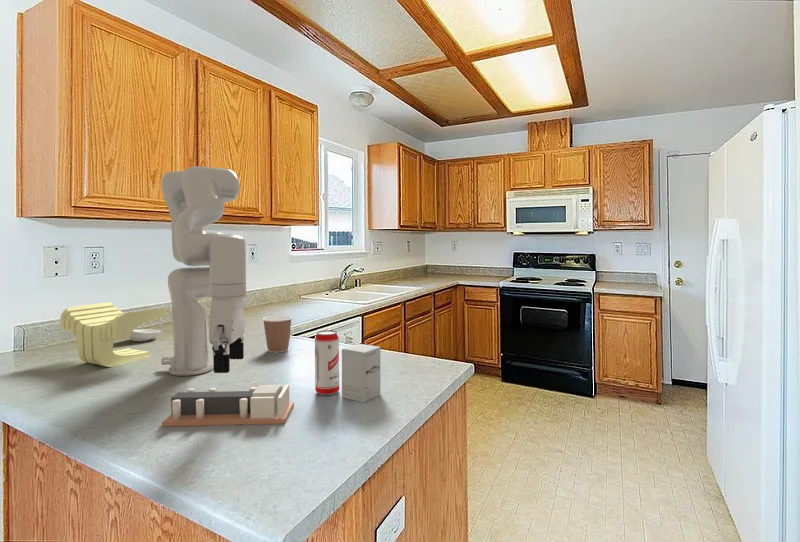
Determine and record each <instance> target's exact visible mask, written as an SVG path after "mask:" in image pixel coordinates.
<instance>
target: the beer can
mask: <svg viewBox="0 0 800 542" xmlns="http://www.w3.org/2000/svg"><path fill="white" fill-rule="evenodd" d="M339 339H340V338H339V336H338V333H337V330H330V329H329V330H328V329H327V330H320V331H317V332H316V336H315V338H314V378H315V380H314V381H315V383H314V385H315V392H316V393H317V394H318V395H319V394H320V395H319V396H322V395H330V396H333V394H334V395H336V394H337V393H338V392H339V390H340V340H339ZM335 393H336V394H335Z"/></svg>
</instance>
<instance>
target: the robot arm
mask: <svg viewBox="0 0 800 542" xmlns="http://www.w3.org/2000/svg"><path fill="white" fill-rule="evenodd" d="M161 192H162V197H163V199H164V203H165V204H166V206H167V209H168V212H169V215H170V221H171V222H170V223H171V225H170V227H171V228H170V229H171V247H172V249H171V250H172V256H173V258H174V260H175V261H176V262H179V263H182V264H184V265H185V266H188V267H180V268H176V269H174V270H172V271H171V272H169V275H168V276H167V286H168V291H169V296H170V301H171V310H172V314H171V315H172V339H173V341H172V342H173V344H172V345H173V356H171V357H169V356H162V357H161V361H160V363H161V365H162V366H163V365H164V366H165V365H169V366H170V367H169V368H168V374H169V375H172V376H178V377H179V376H180V377H186V376H194V375H195V376H196V375H200V374H204V373H208V372H210V371H212V370H213V373H215V374H229V372H230V371H231V370H230V369H231V368H230V360H243V359H244V354H245V352H244V351H245V350H244V333H245V306H244V304H245V303H244V299H245V298H246V297H247V272H246V271H247V265H246V264H247V260H246V257H247V254H246V252H247V251H246V249H247V248H246V247H247V246H246V245H247V244H246V239H245V238H244V237H243V236H240V235H237V234H235V233H234V234H233V233H223V232H218V231H204V228H203V227H205V226H209V225H212V224H214V223H216V222H217V221H219V220H220V219H221V218H222V217H223V215H224V213H225V203H228V202H233V201H234V200H236V199H237V198H238V196H239V194H240V181H239V178H238V176H237V174H236V173H235V172H234V171H233V170H231V169H227V168H222V167H221V168H220V167H219V168H218V167H209V166H202V165H201V166H199V165H196V166H190V167H188V168H185V169H184V170H183V171H182V170H180V171H179V170H174V171H169V172H166V173H164V174H163V175H162V178H161ZM207 298H210V299H211V302H210V307H209V322H208V313H207V309H206V308H205V307H204V306H203V305H202V304H201V303H200V302H199V301H198V299H207ZM208 323H209V325H208ZM208 326H209V327H208ZM208 329H209V330H208ZM209 343H210V345H212V347H211V350H212V356H213V362H212V361H209Z"/></svg>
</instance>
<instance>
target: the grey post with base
mask: <svg viewBox="0 0 800 542" xmlns="http://www.w3.org/2000/svg"><path fill="white" fill-rule="evenodd" d="M262 385H263V386H261V385H258V386H257V387H256V390H255V391H249V390H233V391H232V390H231V391H230V390H229V391H228V390H227V391H225V390H224V391H216V392H209V391H194V392H187V391H183V392H182V391H181V392H179V391H178V392H177V393H175V394H174V395H173V396H171V397H170V408H171V410H170V411H171V413H170V415H171V414H172V415H173V411H172V401H173V400H177V399H179V400H180V401H181V415H196V400H198V399H204V415H219V414H240V399H242V398H247V407H248V414H251V409H250V398H251V397H275V415H276V414H277V412H278V406H277V398H278V396H279V394H280V393H281V385H282V384H262Z"/></svg>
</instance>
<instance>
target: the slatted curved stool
mask: <svg viewBox="0 0 800 542" xmlns="http://www.w3.org/2000/svg"><path fill="white" fill-rule="evenodd" d="M162 317H166V307H161V308H153V309H147V310H141V311H140V310H139V311H134V312H128V313H127V312H126V313H124V312H123V311H122V310H120V309H119V308H117V307H116V306H115V305H114V304H113V303H112V302H111V301H109V302H108V301H107V302H100V303H91V304H82V305H74V306H69V307H67V308H66V309H64V310H63V311H62V313H61V315H60V318H59V319H60V323H59V324H60V331H69V332H71V333H72V334H73V336H75V341H76V345H77V351H78V357H79V359H80V360H81V361H82V362H84V363H87V364H93V365H97V366H102V367H107V368H114V367H113V366H115V367H117V366H116V365H119V366H121V365H120V364H123V365H125V364H124V363H127V364H129V363H128V362H131V363H133V362H132V361H135V362H137V361H136V360H139V359H143V358H147V357H151V355H150V352H149V351H146V350H141V349H140V350H139V349H133V348H130V347H129V348H124V349H118V350H114V349H113V348H114V344H115V341H119V340H122V339H127V338H128V337H131V334H132V331H133V330H135V328H136V327H137V326H139V325H142V324H148V323H150V322H153V321H155V320H158V319H160V318H162ZM147 359H148V358H147ZM143 360H144V359H143ZM139 361H140V360H139Z"/></svg>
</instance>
